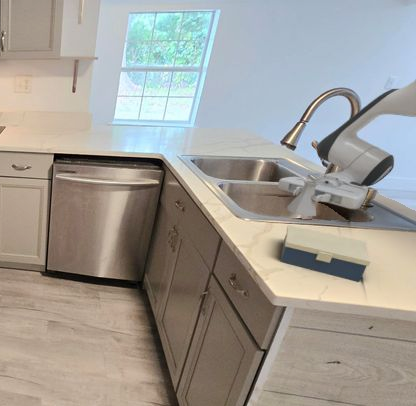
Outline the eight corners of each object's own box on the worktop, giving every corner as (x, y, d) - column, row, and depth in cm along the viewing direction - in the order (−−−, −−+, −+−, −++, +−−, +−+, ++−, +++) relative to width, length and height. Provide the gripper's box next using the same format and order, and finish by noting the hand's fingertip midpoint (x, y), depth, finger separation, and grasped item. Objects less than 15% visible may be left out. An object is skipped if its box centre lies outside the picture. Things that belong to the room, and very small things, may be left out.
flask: (291, 215, 110) (302, 184, 106) (282, 206, 117) (291, 177, 113) (321, 218, 108) (332, 186, 104) (309, 208, 114) (320, 178, 111)
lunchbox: (355, 260, 90) (364, 240, 88) (360, 283, 81) (370, 262, 79) (281, 242, 98) (288, 224, 96) (279, 262, 90) (286, 242, 88)
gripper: (294, 170, 123) (270, 176, 117) (376, 188, 105) (352, 197, 100) (288, 187, 125) (264, 194, 120) (367, 208, 108) (343, 218, 103)
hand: (305, 196), depth 110 cm, fingers closed on flask, 3 cm apart
